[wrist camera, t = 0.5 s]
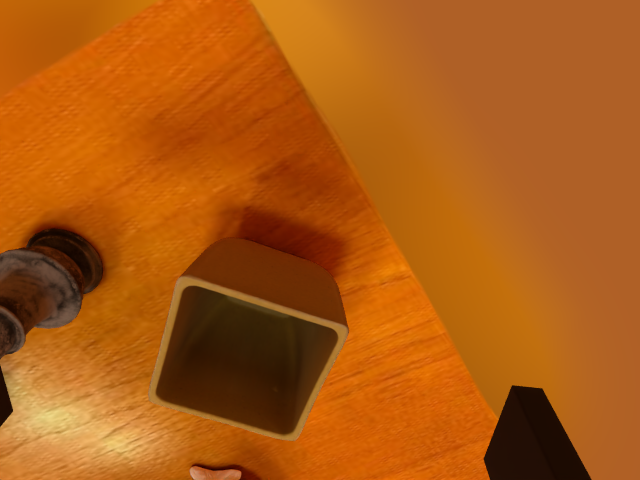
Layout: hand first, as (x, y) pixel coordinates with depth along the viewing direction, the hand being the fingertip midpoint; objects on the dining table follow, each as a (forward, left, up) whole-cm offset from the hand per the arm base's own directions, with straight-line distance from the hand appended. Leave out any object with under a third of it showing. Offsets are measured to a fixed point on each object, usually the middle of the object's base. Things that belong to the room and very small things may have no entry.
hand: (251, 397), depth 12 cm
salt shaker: (+18, -2, -18) cm, 26 cm away
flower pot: (+6, +5, -18) cm, 20 cm away
